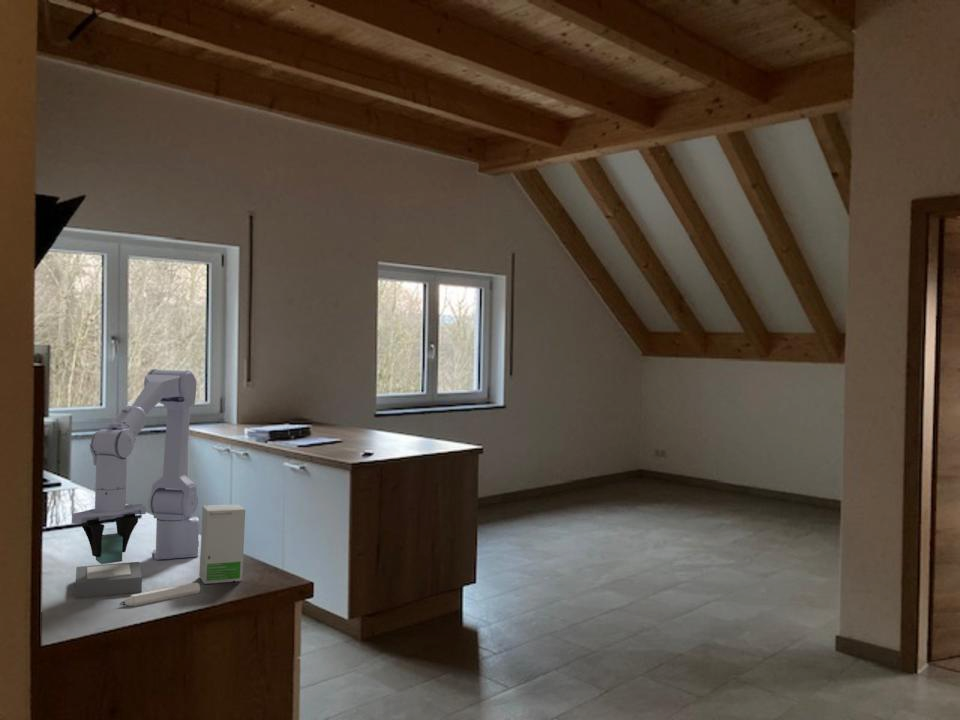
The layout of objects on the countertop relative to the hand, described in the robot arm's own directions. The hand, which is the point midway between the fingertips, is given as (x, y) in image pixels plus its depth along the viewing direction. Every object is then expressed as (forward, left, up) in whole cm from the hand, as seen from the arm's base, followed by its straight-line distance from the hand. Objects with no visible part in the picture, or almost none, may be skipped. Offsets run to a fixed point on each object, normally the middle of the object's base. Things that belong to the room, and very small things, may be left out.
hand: (109, 553), depth 164 cm
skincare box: (-22, +2, -7) cm, 23 cm away
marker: (-9, +12, -7) cm, 17 cm away
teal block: (0, 0, -1) cm, 1 cm away
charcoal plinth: (0, 0, -7) cm, 7 cm away
